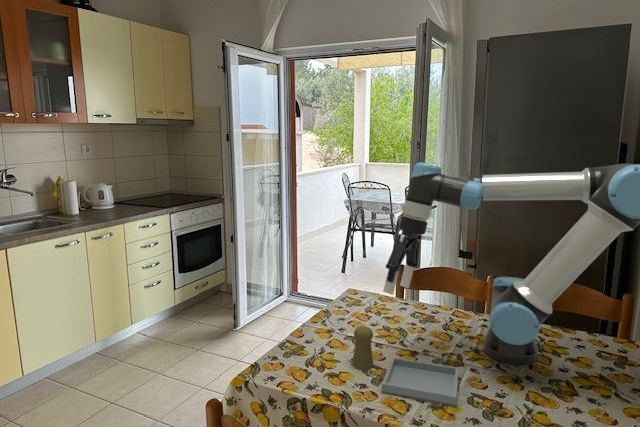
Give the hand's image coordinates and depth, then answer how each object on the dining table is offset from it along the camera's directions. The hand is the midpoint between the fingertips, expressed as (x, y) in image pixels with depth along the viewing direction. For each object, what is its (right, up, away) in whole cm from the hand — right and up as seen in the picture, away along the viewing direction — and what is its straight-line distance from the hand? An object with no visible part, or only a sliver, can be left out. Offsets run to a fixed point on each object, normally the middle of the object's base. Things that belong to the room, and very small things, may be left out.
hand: (396, 289), depth 126 cm
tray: (+5, -23, -10) cm, 26 cm away
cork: (-10, -22, 0) cm, 24 cm away
